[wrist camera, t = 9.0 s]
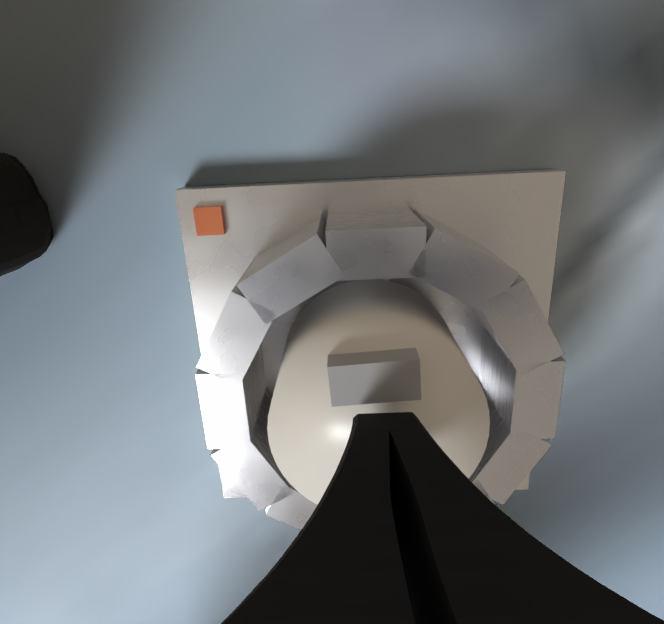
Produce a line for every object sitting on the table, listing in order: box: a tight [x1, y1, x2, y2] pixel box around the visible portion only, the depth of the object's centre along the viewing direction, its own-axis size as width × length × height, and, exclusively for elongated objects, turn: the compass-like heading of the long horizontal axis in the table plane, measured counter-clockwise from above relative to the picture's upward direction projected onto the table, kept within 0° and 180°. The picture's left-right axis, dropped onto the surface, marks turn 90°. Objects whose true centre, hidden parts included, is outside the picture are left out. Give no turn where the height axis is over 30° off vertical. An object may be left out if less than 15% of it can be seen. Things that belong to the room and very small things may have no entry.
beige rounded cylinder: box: [267, 279, 490, 505], centre depth 13 cm, size 5×5×5 cm
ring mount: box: [175, 169, 566, 530], centre depth 14 cm, size 11×11×4 cm
